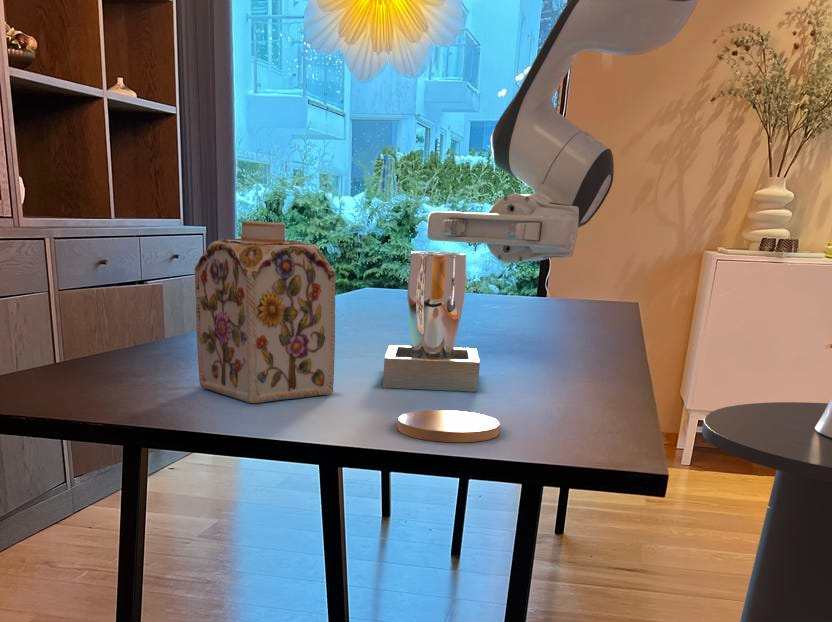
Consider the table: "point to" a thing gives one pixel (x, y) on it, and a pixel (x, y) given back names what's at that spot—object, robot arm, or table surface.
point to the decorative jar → (265, 316)
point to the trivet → (448, 426)
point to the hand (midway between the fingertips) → (479, 229)
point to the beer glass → (435, 302)
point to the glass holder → (431, 370)
